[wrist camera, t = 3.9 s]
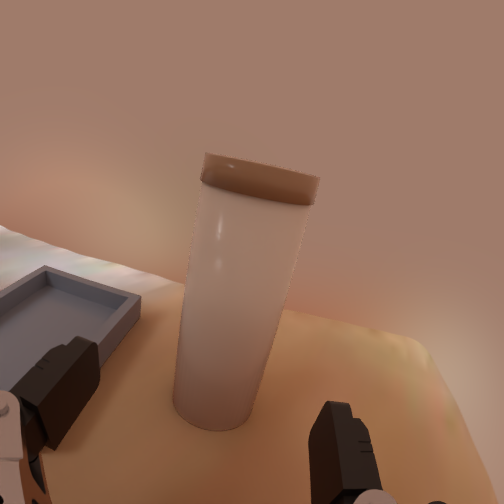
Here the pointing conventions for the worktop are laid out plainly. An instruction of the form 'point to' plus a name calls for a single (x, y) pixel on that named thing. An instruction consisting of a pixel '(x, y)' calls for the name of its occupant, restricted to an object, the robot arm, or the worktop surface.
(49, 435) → the robot arm
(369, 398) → the worktop surface
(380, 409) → the worktop surface
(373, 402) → the worktop surface
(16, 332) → the dish
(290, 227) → the canister
